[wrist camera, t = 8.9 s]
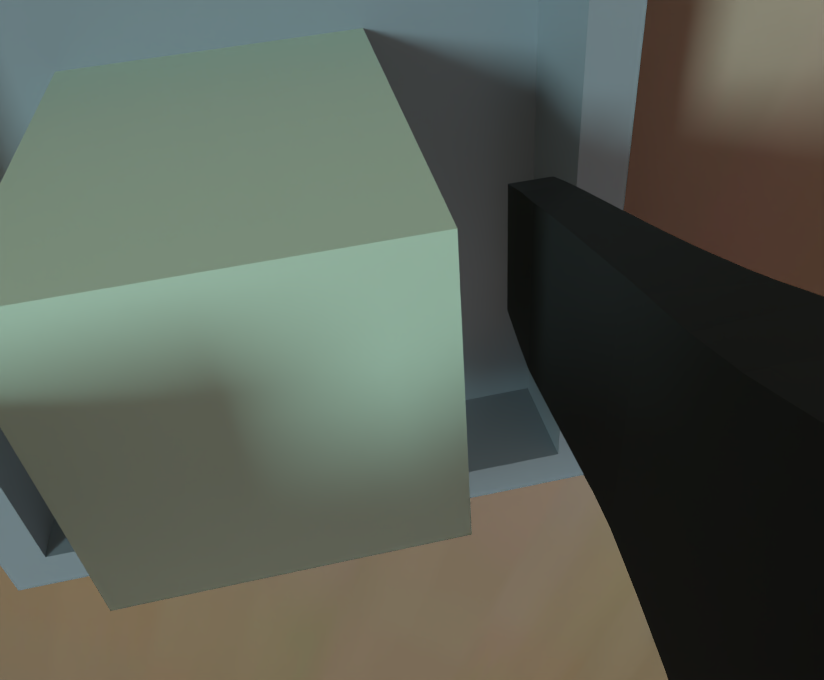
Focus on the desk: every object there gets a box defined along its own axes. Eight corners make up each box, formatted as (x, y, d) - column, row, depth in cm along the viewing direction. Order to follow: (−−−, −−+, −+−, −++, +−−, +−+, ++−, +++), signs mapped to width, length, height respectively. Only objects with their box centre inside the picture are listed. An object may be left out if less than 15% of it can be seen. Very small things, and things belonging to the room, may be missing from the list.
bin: (601, -430, 9) (700, -470, 7) (553, 392, 18) (593, 472, 16) (-453, -344, 8) (-666, -369, 6) (42, 491, 17) (18, 590, 15)
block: (363, 28, 11) (457, 228, 7) (391, 275, 14) (471, 534, 10) (55, 71, 11) (-67, 317, 6) (147, 318, 14) (110, 611, 9)
